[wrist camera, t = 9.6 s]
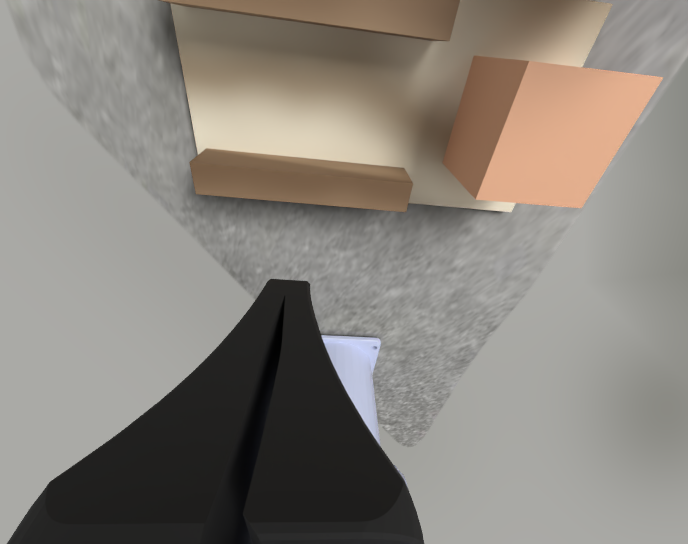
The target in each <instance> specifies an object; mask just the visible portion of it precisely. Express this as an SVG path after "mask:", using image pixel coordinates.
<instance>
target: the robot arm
mask: <svg viewBox="0 0 688 544" xmlns="http://www.w3.org/2000/svg"><path fill="white" fill-rule="evenodd" d="M380 345H381V341H380V339H379V338H371V337H350V336H329V335H321V334H320V331H319V327H318V324H317V321H316V318H315V314H314V310H313V306H312V301H311V295H310V284H309V283H308V282H307V281H295V280H279V279H270V280H269V281H268V282H267V283H266V285H265V287H264V288H263V290H262V292H261V293H260V295H259V296H258V298H257V299H256V300H255V302H254V303H253V305H252V306H251V307H250V309H249V310H248V311H247V313H246V314H245V315H244V316H243V318H242V319H241V320H240V322H239V323H238V324H237V325H236V327H235V328H234V329H233V330H232V331H231V333H229V335H228V336H227V337H226V338H225V339H224V340H223V341H222V343H221V344H220V345H219V346H218V347H217V348H216V349H215V350H214V351H213V352H212V353H211V354H210V356H208V357H207V359H205V361H204V362H202V363H201V364H200V365H199V366H198V367H197V368H196V369H195V370H194V371H193V372H192V373H191V374H190V375H189V376H188V377H187V378H185V380H183V381H182V382H181V383H180V384H179V385H178V386H177V387H176V388H174V389H173V390H172V391H171V392H170V393H169V394H167V395H166V396H165V397H164V398H163V399H162V400H161V401H159V402H158V403H157V404H155V405H154V406H153V407H152V408H150V409H149V410H148V411H147V412H145V413H144V414H143V415H141V416H140V417H139V418H138V419H136V420H135V421H134V422H133V423H131V424H130V425H129V426H128V427H126V428H125V429H124V430H122V431H121V432H120V433H118V434H117V435H116V436H115V437H113V438H112V439H110V440H109V441H108V442H106V443H105V444H103V445H102V446H100V447H99V448H98V449H96V450H95V451H93V452H92V453H91V454H89V455H88V456H86V457H85V458H83V459H82V460H81V461H79V462H78V463H76V464H75V465H73V466H72V467H71V468H69V469H68V470H66V471H65V472H63V473H62V474H61V475H59V476H58V477H56V478H55V479H53V480H52V481H51V482H49V484H48V485H47V487H46V488H45V490H44V491H43V492H42V494H41V495H40V496H39V497H38V499H37V500H36V501H35V502H34V504H33V505H32V506H31V508H30V509H29V511H28V512H27V514H26V515H25V517H24V518H23V520H22V521H21V523H20V524H19V526H18V527H17V529H16V531H15V532H14V534H13V535H12V537H11V538H10V540H9V541H8V543H7V544H424V540H423V534H422V530H421V526H420V522H419V519H418V516H417V512H416V509H415V507H414V504H413V501H412V498H411V496H410V493H409V490H408V487H407V483H406V480H405V477H404V475H403V474H402V473H401V472H400V471H399V470H398V469H397V467H396V466H395V465H393V464H392V462H391V461H390V460H389V458H388V457H387V456H386V454H385V452H384V451H383V450H382V448H381V446H380V438H379V429H378V421H377V413H376V404H375V396H374V387H373V379H372V374H373V370H374V367H375V363H376V360H377V356H378V352H379V349H380Z"/></svg>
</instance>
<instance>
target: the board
mask: <svg viewBox="0 0 688 544" xmlns="http://www.w3.org/2000/svg"><path fill="white" fill-rule="evenodd" d="M170 4H171V10H172V15H173V21H174V26H175V32H176V37H177V43H178V48H179V54H180V59H181V64H182V70H183V75H184V81H185V86H186V92H187V97H188V103H189V108H190V114H191V119H192V125H193V130H194V135H195V141H196V146H197V152H198V155H199V154H200V153H201V152H202V151H204V150H205V149H206V148H209V149H219V150H229V151H239V152H249V153H259V154H269V155H279V156H290V157H300V158H310V159H320V160H330V161H340V162H350V163H360V164H370V165H380V166H390V167H400V168H405V170H406V172H407V174H408V175H409V177H410V179H411V181H412V182H413V187H412V191H411V195H410V198H409V202H408V203H414V204H425V205H436V206H447V207H459V208H470V209H481V210H492V211H504V212H511V211H512V209H513V207H514V205H515V203H511V202H499V201H486V200H476V199H475V198H474V197H473V196H472V195H471V194H470V193H469V192H468V191H467V190H466V188H465V187H464V186H463V185H462V184H461V183H460V182H459V181H458V180H457V179H456V177H455V176H454V175H453V174H452V173H451V172H450V171H449V170H448V169H447V168H446V166H445V165H444V164H443V159H444V156H445V152H446V149H447V146H448V142H449V139H450V135H451V132H452V128H453V125H454V122H455V118H456V115H457V111H458V108H459V105H460V101H461V98H462V94H463V91H464V87H465V84H466V81H467V77H468V74H469V70H470V67H471V63H472V60H473V57H474V56H484V57H494V58H504V59H515V60H525V61H534V62H542V63H550V64H558V65H566V66H575V67H582V66H583V64H584V62H585V60H586V58H587V56H588V54H589V52H590V50H591V48H592V46H593V44H594V42H595V40H596V37H597V35H598V33H599V31H600V29H601V27H602V25H603V23H604V21H605V19H606V17H607V15H608V13H609V11H610V9H611V7H612V5H613V4H609V3H602V2H596V1H590V0H460V3H459V7H458V10H457V14H456V18H455V22H454V26H453V30H452V34H451V38H450V41H428V40H421V39H414V38H407V37H400V36H393V35H385V34H378V33H371V32H364V31H357V30H350V29H343V28H335V27H328V26H321V25H314V24H307V23H300V22H293V21H286V20H278V19H271V18H264V17H257V16H250V15H243V14H236V13H229V12H221V11H214V10H207V9H200V8H193V7H186V6H180V5H176V4H172V3H170Z"/></svg>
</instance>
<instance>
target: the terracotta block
mask: <svg viewBox="0 0 688 544" xmlns="http://www.w3.org/2000/svg"><path fill="white" fill-rule="evenodd" d="M662 79H663V77H656V76H648V75H640V74H631V73H623V72H615V71H607V70H599V69H591V68H583V67H575V66H566V65H558V64H550V63H542V62H534V61H525V60H515V59H504V58H494V57H484V56H474V57H473V60H472V63H471V67H470V70H469V74H468V77H467V81H466V84H465V87H464V91H463V94H462V98H461V101H460V105H459V108H458V111H457V115H456V118H455V122H454V125H453V128H452V132H451V135H450V139H449V142H448V146H447V149H446V152H445V156H444V159H443V164H444V165H445V166H446V168H447V169H448V170H449V171H450V172H451V173H452V174H453V175H454V176H455V177H456V179H457V180H458V181H459V182H460V183H461V184H462V185H463V186H464V187H465V188H466V190H467V191H468V192H469V193H470V194H471V195H472V196H473V197H474V198H475V199H476V200H486V201H499V202H511V203H523V204H536V205H548V206H561V207H573V208H582V206H583V205H584V203H585V202H586V200H587V198H588V197H589V195H590V194H591V192H592V191H593V189H594V187H595V186H596V184H597V183H598V181H599V179H600V178H601V176H602V175H603V173H604V171H605V170H606V168H607V167H608V165H609V163H610V162H611V160H612V159H613V157H614V155H615V154H616V152H617V151H618V149H619V148H620V146H621V144H622V143H623V141H624V140H625V138H626V136H627V135H628V133H629V132H630V130H631V128H632V127H633V125H634V124H635V122H636V120H637V119H638V117H639V116H640V114H641V112H642V111H643V109H644V108H645V106H646V104H647V103H648V101H649V100H650V98H651V97H652V95H653V93H654V92H655V90H656V89H657V87H658V85H659V84H660V82H661V81H662Z"/></svg>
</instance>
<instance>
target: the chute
mask: <svg viewBox="0 0 688 544" xmlns="http://www.w3.org/2000/svg"><path fill="white" fill-rule="evenodd" d="M159 1H164V2H168V3H172V4H176V5H180V6H186V7H193V8H200V9H207V10H214V11H221V12H229V13H236V14H243V15H250V16H257V17H264V18H271V19H278V20H286V21H293V22H300V23H307V24H314V25H321V26H328V27H335V28H343V29H350V30H357V31H364V32H371V33H378V34H385V35H393V36H400V37H407V38H414V39H421V40H428V41H450V38H451V34H452V30H453V26H454V22H455V18H456V14H457V10H458V7H459V3H460V0H159ZM190 167H191V172H192V177H193V182H194V187H195V192H196V194H201V195H213V196H225V197H236V198H248V199H259V200H271V201H283V202H294V203H306V204H317V205H329V206H341V207H352V208H364V209H375V210H387V211H399V212H406V210H407V206H408V202H409V198H410V195H411V191H412V187H413V182H412V181H411V179H410V177H409V175H408V174H407V172H406V170H405V168H400V167H390V166H380V165H370V164H360V163H350V162H340V161H330V160H320V159H310V158H300V157H290V156H279V155H269V154H259V153H249V152H239V151H229V150H219V149H209V148H206V149H205V150H204V151H202V152H201V153H200V154H199V155H198V156H196V157H195V158H194V159H193V160H192V161H190Z"/></svg>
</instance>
